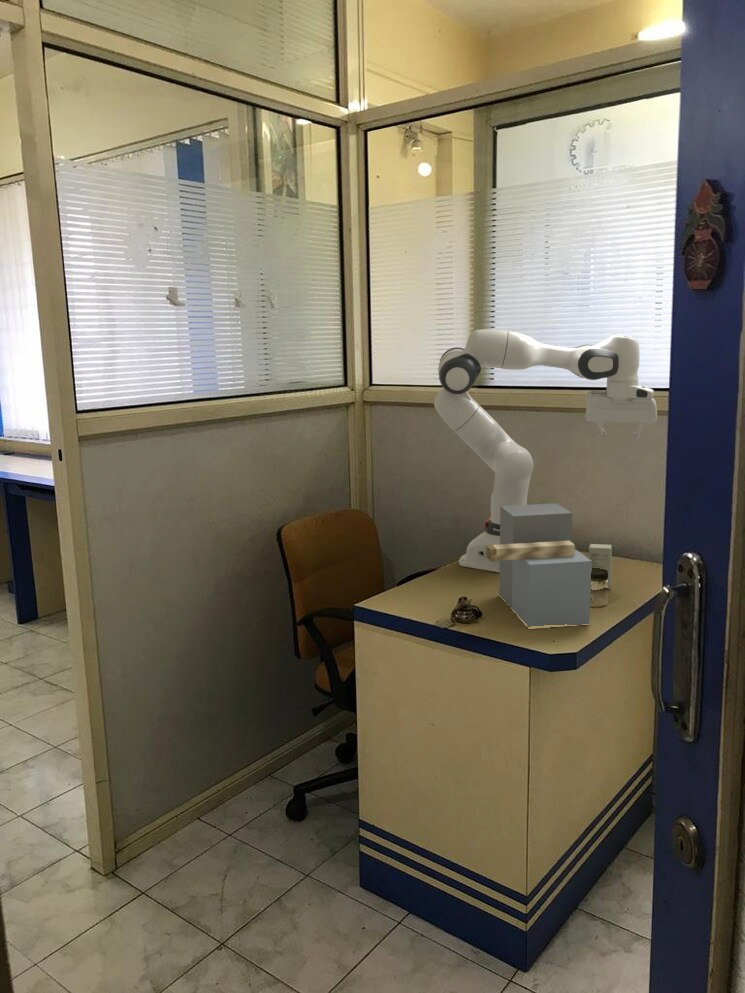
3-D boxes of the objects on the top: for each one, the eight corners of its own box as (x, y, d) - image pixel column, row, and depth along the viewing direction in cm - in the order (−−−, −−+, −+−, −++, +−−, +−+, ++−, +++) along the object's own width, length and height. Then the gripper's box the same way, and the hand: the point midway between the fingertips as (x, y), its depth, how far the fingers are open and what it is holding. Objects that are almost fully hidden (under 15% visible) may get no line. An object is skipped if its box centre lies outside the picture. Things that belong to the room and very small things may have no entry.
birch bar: (490, 561, 206) (490, 549, 206) (486, 556, 210) (486, 545, 210) (574, 556, 209) (574, 544, 208) (568, 551, 213) (569, 540, 212)
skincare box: (611, 585, 239) (613, 544, 236) (610, 589, 235) (612, 548, 232) (588, 583, 241) (590, 542, 238) (587, 587, 237) (588, 546, 234)
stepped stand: (528, 629, 206) (530, 529, 201) (499, 595, 231) (500, 506, 226) (589, 625, 208) (593, 526, 203) (553, 592, 233) (556, 503, 228)
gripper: (584, 391, 242) (582, 437, 245) (657, 392, 234) (654, 440, 237) (587, 389, 247) (585, 434, 250) (659, 390, 239) (656, 437, 242)
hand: (619, 437), depth 244 cm, fingers open, 8 cm apart
